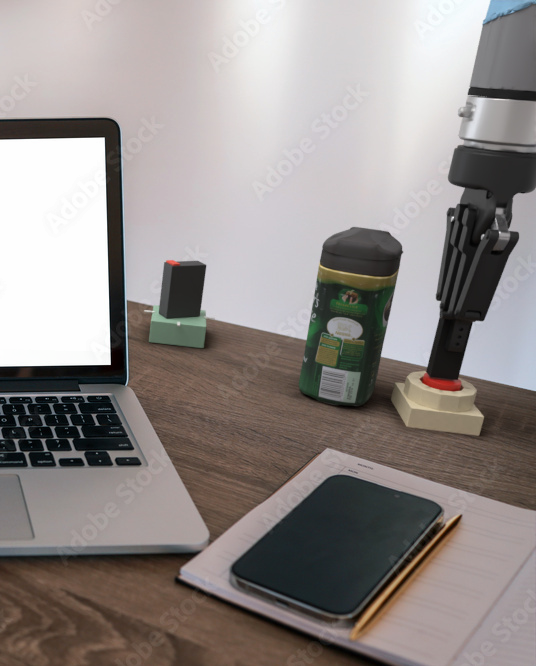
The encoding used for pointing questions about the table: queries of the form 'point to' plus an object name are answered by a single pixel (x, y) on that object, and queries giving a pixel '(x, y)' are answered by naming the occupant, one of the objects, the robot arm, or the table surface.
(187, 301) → the black box red top
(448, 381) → the button
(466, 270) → the robot arm
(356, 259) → the coffee jar
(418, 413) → the button housing
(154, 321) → the dial panel
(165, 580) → the table surface
